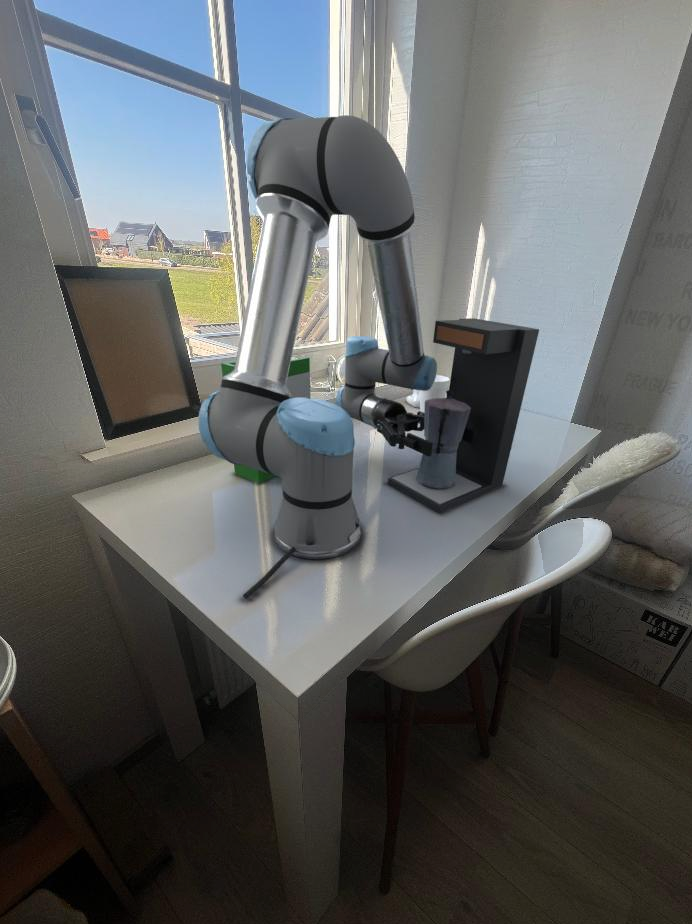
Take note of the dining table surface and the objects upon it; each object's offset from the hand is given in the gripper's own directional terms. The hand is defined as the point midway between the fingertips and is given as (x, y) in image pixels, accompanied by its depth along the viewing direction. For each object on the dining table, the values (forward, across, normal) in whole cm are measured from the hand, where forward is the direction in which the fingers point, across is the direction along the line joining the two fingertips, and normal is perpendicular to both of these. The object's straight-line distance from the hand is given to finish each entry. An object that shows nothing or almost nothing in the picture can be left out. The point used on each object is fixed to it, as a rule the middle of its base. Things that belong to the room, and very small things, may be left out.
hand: (453, 443), depth 86 cm
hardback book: (-33, +23, -12) cm, 42 cm away
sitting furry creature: (-51, -44, -12) cm, 69 cm away
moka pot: (-3, 0, -11) cm, 11 cm away
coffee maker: (-3, -4, -12) cm, 13 cm away
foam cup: (-39, -37, -12) cm, 55 cm away
